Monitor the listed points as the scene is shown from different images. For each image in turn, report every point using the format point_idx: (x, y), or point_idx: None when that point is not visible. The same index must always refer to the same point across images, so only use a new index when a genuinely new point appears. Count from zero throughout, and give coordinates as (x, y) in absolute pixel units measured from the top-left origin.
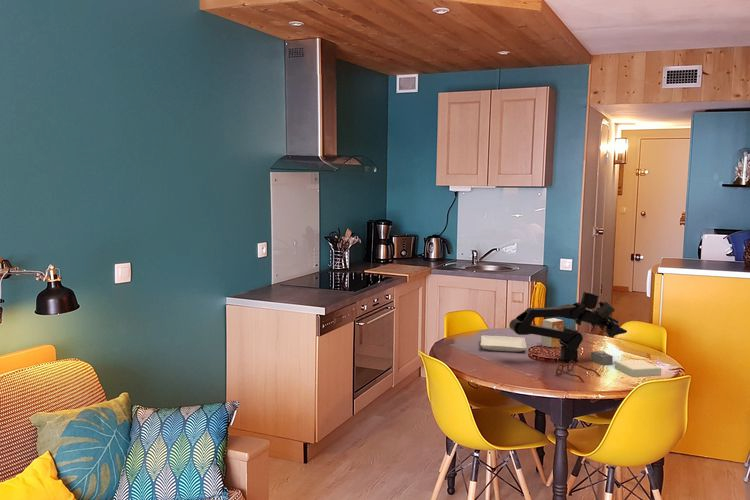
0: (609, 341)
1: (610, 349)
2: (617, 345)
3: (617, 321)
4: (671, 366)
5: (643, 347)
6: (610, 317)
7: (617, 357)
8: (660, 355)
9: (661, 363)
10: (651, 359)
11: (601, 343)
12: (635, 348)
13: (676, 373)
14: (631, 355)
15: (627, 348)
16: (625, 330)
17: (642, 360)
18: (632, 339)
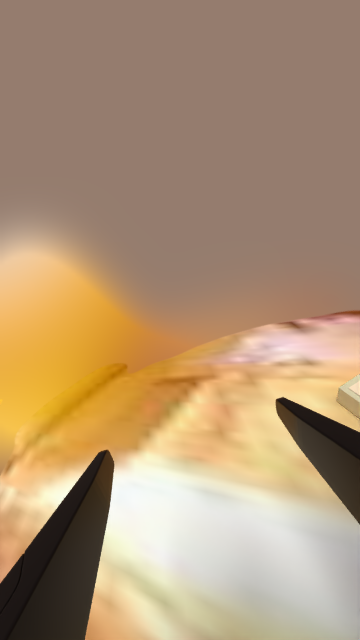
0: (31, 486)
1: (109, 509)
2: (76, 463)
3: (105, 460)
4: (267, 332)
5: (111, 391)
6: (27, 611)
7: (229, 501)
8: (172, 358)
9: (247, 351)
10: (214, 373)
11: (31, 535)
12: (114, 409)
13: (343, 314)
14: (183, 427)
15: (110, 432)
16: (303, 408)
17: (357, 384)
18: (51, 412)
